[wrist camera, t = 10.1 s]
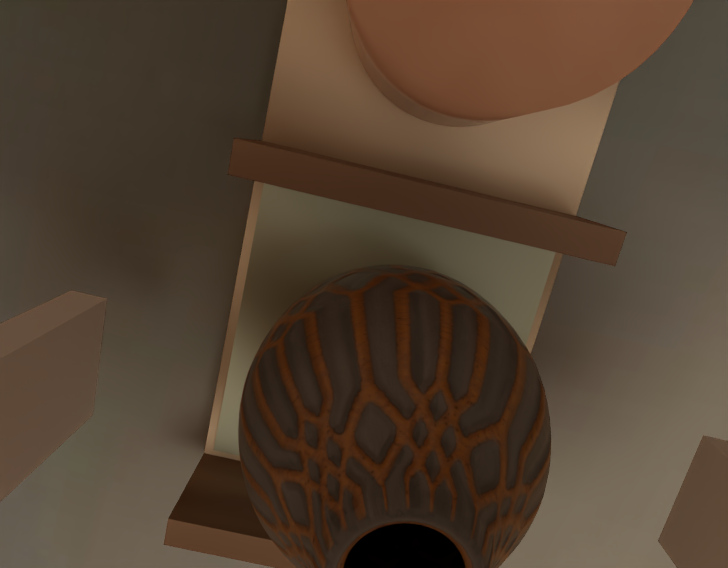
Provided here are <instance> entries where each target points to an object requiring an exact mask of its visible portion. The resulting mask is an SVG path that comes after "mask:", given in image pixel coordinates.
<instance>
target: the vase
mask: <svg viewBox="0 0 728 568" xmlns="http://www.w3.org/2000/svg"><path fill="white" fill-rule="evenodd" d="M238 442H239V453H240V462H241V468H242V473H243V477H244V482H245V486H246V489H247V492H248V496H249V498H250V501H251V503H252V506H253V508H254V511H255V513H256V515H257V517H258V519H259V521H260V523H261V525H262V526H263V528H264V530H265V531H266V533H267V534H268V535H269V537H270V538H271V540H272V541H273V542H274V544H275V545H276V547H277V548H278V549H279V550H280V551H281V553H282V554H283V555H284V556H285V557H286V558H287V559H288V560H289V561H290V562H291V563H292V564H293V565H294V566H296V567H297V568H498V567H499V566H500V565H501V564H502V563H503V562H504V561H505V560H506V559H507V558H508V557H509V555H510V554H511V553H512V552H513V551H514V549H515V548H516V547H517V546H518V544H519V543H520V542H521V540H522V539H523V537H524V536H525V534H526V533H527V531H528V529H529V527H530V526H531V524H532V522H533V520H534V518H535V516H536V514H537V511H538V509H539V507H540V504H541V501H542V498H543V495H544V491H545V487H546V483H547V478H548V474H549V467H550V456H551V429H550V417H549V410H548V404H547V399H546V395H545V391H544V387H543V384H542V381H541V378H540V375H539V372H538V370H537V367H536V365H535V363H534V360H533V358H532V356H531V354H530V353H529V351H528V349H527V347H526V346H525V344H524V343H523V341H522V340H521V338H520V337H519V335H518V334H517V332H516V331H515V329H514V328H513V327H512V326H511V324H510V323H509V322H508V321H507V320H506V319H505V318H504V317H503V316H502V314H501V313H500V312H499V311H498V310H497V309H496V308H495V307H494V306H493V305H492V304H490V303H489V302H488V301H487V300H486V299H484V298H483V297H482V296H481V295H479V294H478V293H477V292H475V291H474V290H472V289H471V288H469V287H468V286H466V285H465V284H463V283H461V282H459V281H457V280H455V279H453V278H451V277H449V276H447V275H444V274H441V273H439V272H436V271H433V270H429V269H425V268H420V267H415V266H408V265H375V266H367V267H362V268H358V269H354V270H350V271H347V272H344V273H341V274H339V275H336V276H334V277H331V278H329V279H327V280H325V281H323V282H322V283H320V284H318V285H316V286H315V287H313V288H312V289H310V290H309V291H307V292H306V293H305V294H303V295H302V296H301V297H300V298H298V299H297V300H296V301H295V302H294V303H293V304H292V305H291V306H290V307H289V308H288V309H287V310H286V311H285V312H284V313H283V314H282V315H281V317H280V318H279V319H278V320H277V321H276V323H275V324H274V325H273V327H272V328H271V329H270V331H269V332H268V334H267V335H266V337H265V339H264V340H263V342H262V343H261V345H260V347H259V349H258V351H257V353H256V355H255V357H254V359H253V362H252V364H251V366H250V369H249V371H248V374H247V377H246V380H245V383H244V388H243V392H242V397H241V402H240V409H239V422H238Z"/></svg>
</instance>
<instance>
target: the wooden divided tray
mask: <svg viewBox="0 0 728 568" xmlns="http://www.w3.org/2000/svg"><path fill="white" fill-rule="evenodd" d="M619 81H620V80H619ZM619 81H618V82H617V83H615V84H613V85H612V86H610V87H608V88H606V89H604V90H602V91H600V92H598V93H596V94H595V95H593V96H590V97H588V98H585V99H582V100H580V101H577V102H575V103H572V104H569V105H565V106H561V107H557V108H553V109H548V110H544V111H540V112H535V113H531V114H527V115H522V116H518V117H513V118H509V119H505V120H500V121H496V122H492V123H487V124H483V125H478V126H469V127H448V126H442V125H437V124H433V123H429V122H426V121H423V120H420V119H418V118H416V117H414V116H412V115H410V114H408V113H406V112H405V111H403V110H402V109H400V108H399V107H397V106H396V105H394V104H393V103H392V102H391V101H390V100H389V99H388V98H386V97H385V96H384V95H383V94H382V92H381V91H380V90H379V89H378V88H377V87H376V86H375V84H374V83H373V81H372V80H371V78H370V77H369V76H368V74H367V73H366V71H365V69H364V67H363V65H362V63H361V61H360V59H359V56H358V53H357V51H356V48H355V45H354V42H353V37H352V32H351V28H350V22H349V16H348V10H347V3H346V0H288V2H287V7H286V13H285V18H284V23H283V29H282V34H281V40H280V45H279V51H278V56H277V61H276V67H275V72H274V78H273V83H272V89H271V94H270V99H269V105H268V110H267V116H266V121H265V126H264V132H263V137H262V141H260V140H249V139H237V138H234V141H233V147H232V152H231V158H230V164H229V170H228V175H232V176H236V177H240V178H244V179H249V180H253V181H254V186H253V192H252V197H251V202H250V208H249V213H248V219H247V224H246V229H245V235H244V240H243V246H242V251H241V257H240V262H239V267H238V273H237V278H236V284H235V289H234V295H233V300H232V305H231V311H230V316H229V322H228V327H227V332H226V338H225V343H224V349H223V354H222V360H221V365H220V370H219V376H218V381H217V387H216V392H215V398H214V403H213V408H212V414H211V419H210V425H209V430H208V435H207V441H206V446H205V452H204V454H203V456H202V458H201V460H200V462H199V464H198V465H197V467H196V469H195V471H194V473H193V475H192V476H191V478H190V480H189V482H188V484H187V485H186V487H185V489H184V491H183V493H182V495H181V496H180V498H179V500H178V502H177V504H176V505H175V507H174V509H173V511H172V513H171V515H170V516H169V518H168V523H167V529H166V534H165V540H164V545H168V546H173V547H178V548H183V549H188V550H192V551H197V552H202V553H207V554H212V555H217V556H221V557H226V558H231V559H236V560H241V561H246V562H250V563H255V564H260V565H265V566H270V567H275V568H297V567H296V566H294V565H293V564H292V563H291V562H290V561H289V560H288V559H287V558H286V557H285V556H284V555H283V554H282V553H281V551H280V550H279V549H278V548H277V547H276V545H275V544H274V542H273V541H272V540H271V538H270V537H269V535H268V534H267V533H266V531H265V530H264V528H263V526H262V525H261V523H260V521H259V519H258V517H257V515H256V513H255V511H254V508H253V506H252V503H251V501H250V498H249V496H248V492H247V489H246V486H245V482H244V477H243V473H242V468H241V462H240V453H239V442H238V422H239V409H240V402H241V397H242V392H243V388H244V383H245V380H246V377H247V374H248V371H249V369H250V366H251V364H252V362H253V359H254V357H255V355H256V353H257V351H258V349H259V347H260V345H261V343H262V342H263V340H264V339H265V337H266V335H267V334H268V332H269V331H270V329H271V328H272V327H273V325H274V324H275V323H276V321H277V320H278V319H279V318H280V317H281V315H282V314H283V313H284V312H285V311H286V310H287V309H288V308H289V307H290V306H291V305H292V304H293V303H294V302H295V301H296V300H297V299H298V298H300V297H301V296H302V295H303V294H305V293H306V292H307V291H309V290H310V289H312V288H313V287H315V286H316V285H318V284H320V283H322V282H323V281H325V280H327V279H329V278H331V277H334V276H336V275H339V274H341V273H344V272H347V271H350V270H354V269H358V268H362V267H367V266H375V265H408V266H415V267H420V268H425V269H429V270H433V271H436V272H439V273H441V274H444V275H447V276H449V277H451V278H453V279H455V280H457V281H459V282H461V283H463V284H465V285H466V286H468V287H469V288H471V289H472V290H474V291H475V292H477V293H478V294H479V295H481V296H482V297H483V298H484V299H486V300H487V301H488V302H489V303H490V304H492V305H493V306H494V307H495V308H496V309H497V310H498V311H499V312H500V313H501V314H502V316H503V317H504V318H505V319H506V320H507V321H508V322H509V323H510V324H511V326H512V327H513V328H514V329H515V331H516V332H517V334H518V335H519V337H520V338H521V340H522V341H523V343H524V344H525V346H526V347H527V349H528V351H529V353H530V354H531V352H532V349H533V346H534V343H535V340H536V337H537V334H538V330H539V327H540V324H541V321H542V318H543V315H544V312H545V309H546V306H547V303H548V300H549V297H550V294H551V290H552V287H553V284H554V281H555V278H556V275H557V272H558V269H559V266H560V263H561V260H562V257H563V254H566V255H570V256H574V257H578V258H583V259H587V260H591V261H595V262H600V263H604V264H608V265H612V266H615V265H616V262H617V259H618V256H619V254H620V251H621V248H622V245H623V242H624V239H625V236H626V233H627V232H624V231H621V230H618V229H615V228H612V227H609V226H606V225H602V224H599V223H596V222H593V221H590V220H587V219H584V218H581V217H577V216H576V213H577V210H578V207H579V204H580V201H581V198H582V195H583V192H584V189H585V186H586V183H587V180H588V177H589V173H590V170H591V167H592V164H593V161H594V158H595V155H596V152H597V149H598V146H599V143H600V140H601V137H602V133H603V130H604V127H605V124H606V121H607V118H608V115H609V112H610V109H611V106H612V103H613V100H614V97H615V93H616V90H617V87H618V84H619Z"/></svg>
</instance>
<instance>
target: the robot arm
mask: <svg viewBox="0 0 728 568" xmlns="http://www.w3.org/2000/svg"><path fill="white" fill-rule="evenodd" d="M106 304H107V298H102V297H98V296H94V295H89V294H85V293H81V292H76V291H72V290H71V291H69V292H66V293H64V294H62V295H60V296H58V297H56V298H54V299H52V300H49V301H47V302H45V303H43V304H41V305H39V306H37V307H35V308H32V309H30V310H28V311H26V312H24V313H22V314H20V315H17V316H15V317H13V318H11V319H9V320H7V321H5V322H3V323H0V502H1V501H2V500H3V499H4V498H5V497H6V496H7V495H8V494H9V493H10V492H11V491H12V490H13V489H14V488H16V487H17V486H18V485H19V484H20V483H21V482H22V481H23V480H24V479H25V478H26V477H27V476H28V475H29V474H30V473H32V472H33V471H34V470H35V469H36V468H37V467H38V466H39V465H40V464H41V463H42V462H43V461H44V460H45V459H46V458H47V457H49V456H50V455H51V454H52V453H53V452H54V451H55V450H56V449H57V448H58V447H59V446H60V445H61V444H62V443H63V442H64V441H66V440H67V439H68V438H69V437H70V436H71V435H72V434H73V433H74V432H75V431H76V430H77V429H78V428H79V427H80V426H81V425H83V424H84V423H85V422H86V421H87V420H88V419H89V418H90V417H91V416H92V415H93V409H94V401H95V393H96V385H97V377H98V369H99V361H100V353H101V345H102V336H103V328H104V320H105V312H106ZM658 541H659V543H660V544H661V546H662V547H663V548H664V550H665V551H666V553H667V554H668V555H669V557H670V558H671V560H672V561H673V563H674V564H675V565H676V567H677V568H728V441H726V440H721V439H717V438H713V437H708V436H704V435H703V437H702V440H701V442H700V444H699V447H698V449H697V451H696V454H695V456H694V458H693V461H692V463H691V465H690V468H689V470H688V472H687V475H686V477H685V479H684V482H683V484H682V486H681V489H680V491H679V493H678V496H677V498H676V500H675V503H674V505H673V507H672V510H671V512H670V514H669V517H668V519H667V521H666V524H665V526H664V528H663V531H662V533H661V535H660V538H659V540H658Z"/></svg>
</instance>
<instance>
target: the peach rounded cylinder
mask: <svg viewBox="0 0 728 568" xmlns="http://www.w3.org/2000/svg"><path fill="white" fill-rule="evenodd" d="M693 1H694V0H346V3H347V10H348V16H349V22H350V28H351V32H352V37H353V42H354V45H355V48H356V51H357V53H358V56H359V59H360V61H361V63H362V65H363V67H364V69H365V71H366V73H367V74H368V76H369V77H370V78H371V80H372V81H373V83H374V84H375V86H376V87H377V88H378V89H379V90H380V91H381V92H382V94H383V95H384V96H385V97H386V98H388V99H389V100H390V101H391V102H392V103H393V104H394V105H396V106H397V107H399V108H400V109H402V110H403V111H405V112H406V113H408V114H410V115H412V116H414V117H416V118H418V119H420V120H423V121H426V122H429V123H433V124H437V125H442V126H448V127H469V126H478V125H483V124H487V123H492V122H496V121H500V120H505V119H509V118H513V117H518V116H522V115H527V114H531V113H535V112H540V111H544V110H548V109H553V108H557V107H561V106H565V105H569V104H572V103H575V102H577V101H580V100H582V99H585V98H588V97H590V96H593V95H595V94H596V93H598V92H600V91H602V90H604V89H606V88H608V87H610V86H612V85H613V84H615V83H617V82H618V81H619V80H621V79H622V78H624V77H625V76H627V75H628V74H629V73H631V72H632V71H634V70H635V69H636V68H637V67H639V66H640V65H641V64H642V63H643V62H644V61H645V60H646V59H647V58H649V57H650V56H651V55H652V54H653V53H654V52H655V51H656V50H657V49H658V48H659V47H660V46H661V45H662V43H663V42H664V41H665V40H666V39H667V38H668V37H669V35H670V34H671V33H672V32H673V31H674V29H675V28H676V27H677V25H678V24H679V22H680V21H681V19H682V18H683V17H684V15H685V14H686V12H687V11H688V10H689V8H690V6H691V4H692V2H693Z"/></svg>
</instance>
